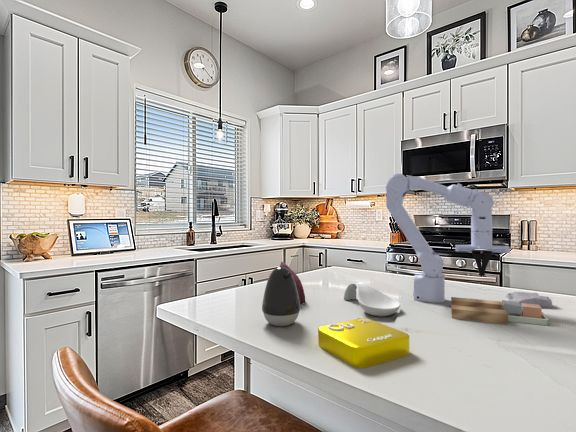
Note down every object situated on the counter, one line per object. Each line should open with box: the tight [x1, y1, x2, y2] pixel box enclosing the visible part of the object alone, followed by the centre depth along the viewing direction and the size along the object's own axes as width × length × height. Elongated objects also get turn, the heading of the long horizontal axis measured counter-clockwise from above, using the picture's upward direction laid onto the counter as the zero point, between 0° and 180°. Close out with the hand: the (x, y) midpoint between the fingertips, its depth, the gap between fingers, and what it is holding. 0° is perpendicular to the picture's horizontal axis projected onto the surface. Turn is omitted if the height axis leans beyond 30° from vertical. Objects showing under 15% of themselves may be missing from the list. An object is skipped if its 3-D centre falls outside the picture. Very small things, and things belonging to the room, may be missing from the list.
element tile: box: [317, 317, 410, 369], centre depth 76 cm, size 15×15×5 cm
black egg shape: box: [261, 266, 301, 327], centre depth 93 cm, size 10×10×15 cm
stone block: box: [506, 291, 553, 309], centre depth 109 cm, size 12×5×10 cm
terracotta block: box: [520, 303, 543, 319], centre depth 93 cm, size 4×4×4 cm
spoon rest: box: [343, 281, 401, 317], centre depth 108 cm, size 24×12×7 cm, turn 20°
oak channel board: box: [450, 296, 509, 325], centre depth 98 cm, size 13×14×4 cm
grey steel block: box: [500, 299, 522, 317], centre depth 94 cm, size 4×4×4 cm
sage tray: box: [508, 311, 551, 327], centre depth 93 cm, size 9×8×2 cm
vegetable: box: [279, 261, 306, 305], centre depth 115 cm, size 10×10×15 cm
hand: (481, 275), depth 108 cm, fingers closed
